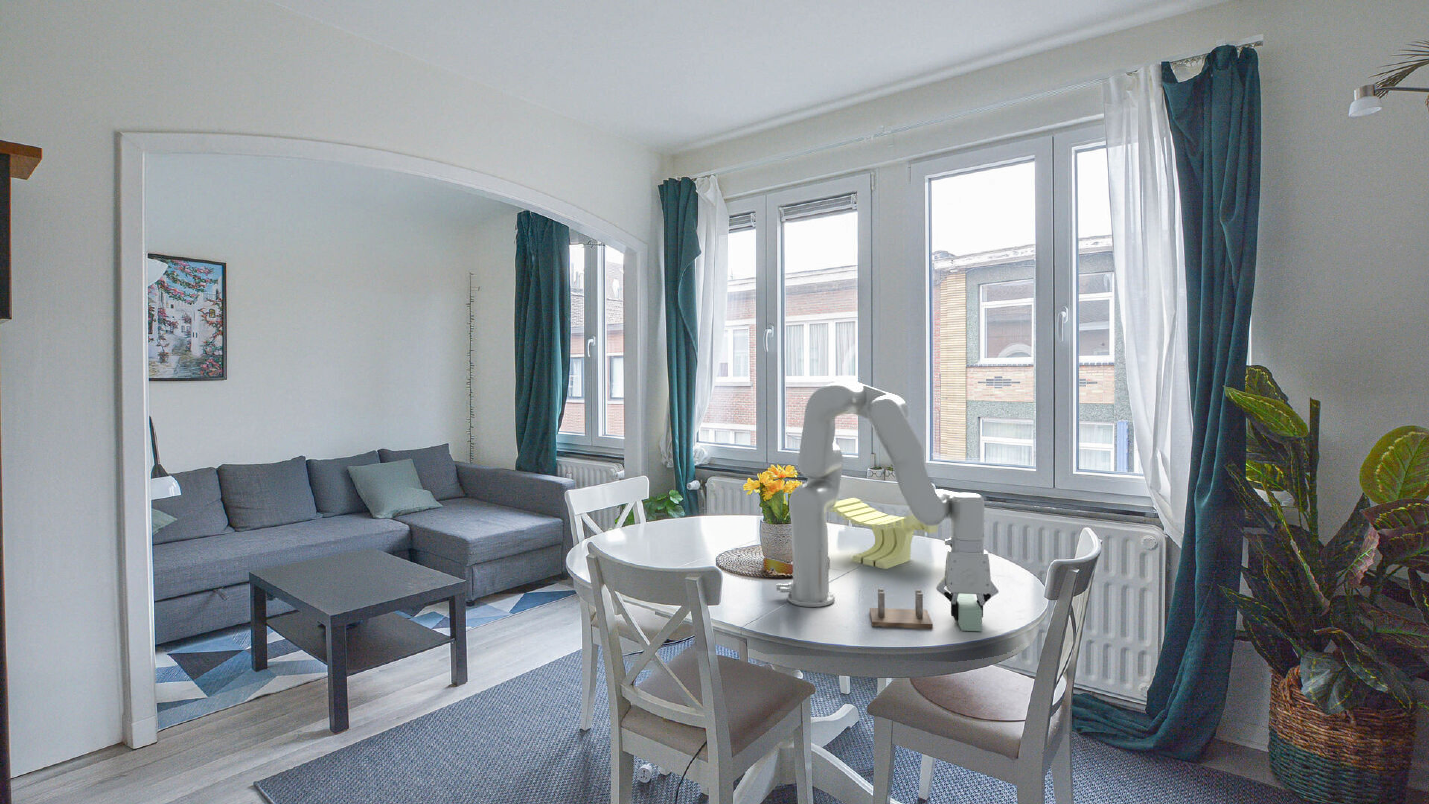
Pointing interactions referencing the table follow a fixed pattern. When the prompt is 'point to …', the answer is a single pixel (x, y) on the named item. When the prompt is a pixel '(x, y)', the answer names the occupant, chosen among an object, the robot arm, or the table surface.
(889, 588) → the table surface
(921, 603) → the peg stand
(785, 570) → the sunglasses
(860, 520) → the slatted curved stool
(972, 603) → the mint green rectangular block
